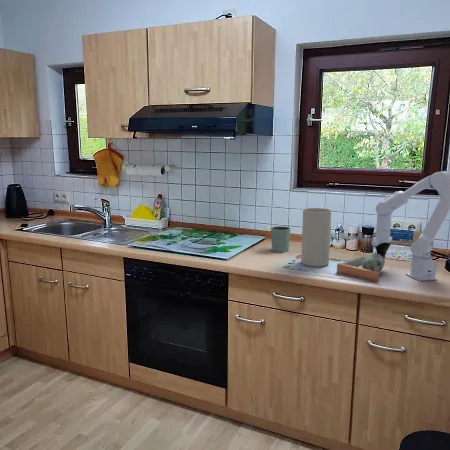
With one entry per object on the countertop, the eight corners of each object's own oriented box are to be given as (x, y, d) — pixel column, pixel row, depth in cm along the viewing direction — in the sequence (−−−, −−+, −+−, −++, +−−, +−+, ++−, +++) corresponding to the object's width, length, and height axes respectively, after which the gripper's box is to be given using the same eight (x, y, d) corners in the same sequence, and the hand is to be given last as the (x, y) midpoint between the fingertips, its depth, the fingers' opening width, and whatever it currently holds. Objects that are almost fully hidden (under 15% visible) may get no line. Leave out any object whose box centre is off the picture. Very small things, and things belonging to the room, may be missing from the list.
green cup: (280, 253, 211) (281, 230, 209) (266, 250, 219) (266, 227, 216) (293, 250, 217) (294, 228, 215) (279, 247, 225) (280, 225, 223)
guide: (361, 262, 195) (362, 254, 194) (401, 271, 181) (402, 262, 181) (334, 272, 180) (335, 263, 179) (376, 282, 166) (377, 273, 166)
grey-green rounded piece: (386, 271, 170) (377, 248, 172) (364, 279, 174) (355, 256, 176) (391, 271, 182) (382, 249, 184) (370, 278, 186) (361, 257, 188)
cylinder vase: (331, 261, 196) (334, 209, 192) (325, 268, 185) (328, 212, 181) (305, 258, 202) (307, 207, 197) (297, 265, 191) (299, 210, 186)
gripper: (382, 225, 189) (380, 254, 192) (366, 230, 179) (364, 260, 182) (397, 228, 184) (395, 257, 187) (381, 232, 174) (379, 264, 177)
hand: (381, 259), depth 184 cm, fingers closed
